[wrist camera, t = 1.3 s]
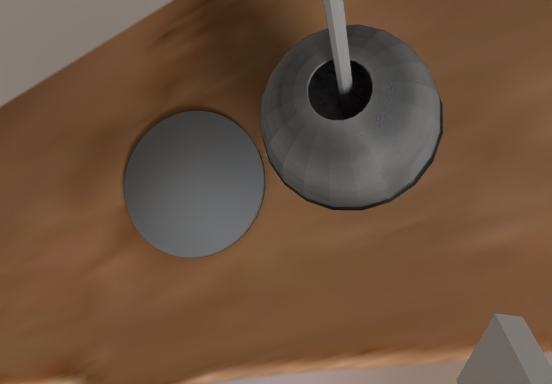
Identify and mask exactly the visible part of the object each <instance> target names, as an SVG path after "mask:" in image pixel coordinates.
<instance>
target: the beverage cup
mask: <svg viewBox="0 0 552 384" xmlns="http://www.w3.org/2000/svg"><path fill="white" fill-rule="evenodd" d="M323 1H324V7H325V13H326V19H327V24H328V28H327V29H325V30H322V31H319V32H317V33H314V34H312V35H309V36H307V37H306V38H304V39H303V40H302V41H300V42H299V43H298V44H296V45H295V46H294V47H292V48H291V49H290V50H289V51H287V52H286V54H285V55H284V56H283V58H282V59H281V60H280V62H279V63H278V64H277V66H276V67H275V68H274V70H273V71H272V73H271V75H270V78H269V81H268V83H267V86H266V89H265V92H264V94H263V97H262V100H261V124H260V127H261V132H262V138H263V141H264V145H265V148H266V152H267V155H268V159H269V162H270V164H271V165H272V167H273V168H274V170H275V171H276V173H277V174H278V176H279V177H280V178H281V180H282V181H283V183H284V184H285V185H286V186H287V187H289V188H290V189H291V190H293V191H294V192H295V193H297V194H298V195H299V196H301V197H302V198H303V199H305V200H306V201H308V202H311V203H314V204H317V205H320V206H323V207H326V208H329V209H332V210H365V209H368V208H372V207H375V206H378V205H382V204H385V203H388V202H391V201H392V200H394V199H395V198H397V197H398V196H400V195H401V194H403V193H404V192H405V191H407V190H408V189H410V188H411V187H413V186H414V185H415V184H416V183H417V182H418V180H419V179H420V178H421V176H422V175H423V174H424V173H425V171H426V170H427V169H428V167H429V166H430V165H431V163H432V162H433V160H434V157H435V154H436V152H437V149H438V146H439V143H440V140H441V137H442V134H443V115H442V102H441V99H440V97H439V94H438V91H437V89H436V86H435V83H434V80H433V78H432V75H431V73H430V70H429V68H428V67H427V65H426V64H425V63H424V62H423V61H422V59H421V58H420V57H419V56H418V55H417V53H416V52H415V51H414V50H413V49H412V47H411V46H409V45H408V44H406V43H404V42H403V41H401V40H400V39H398V38H396V37H395V36H393V35H391V34H390V33H388V32H386V31H385V30H380V29H376V28H372V27H367V26H363V25H346V22H345V13H344V5H343V0H323Z"/></svg>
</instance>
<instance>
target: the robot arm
mask: <svg viewBox="0 0 552 384" xmlns="http://www.w3.org/2000/svg"><path fill="white" fill-rule="evenodd" d="M457 382H458V384H552V368H551V366H550V364H549V362H548V360H547V359H546V357H545V355H544V353H543V352H542V350H541V348H540V346H539V345H538V343H537V341H536V339H535V338H534V336H533V334H532V332H531V331H530V329H529V327H528V326H527V324H526V322H525V320H524V319H523V317H518V316H510V315H503V314H495V315H494V316H493V318H492V320H491V321H490V323H489V325H488V327H487V328H486V330H485V332H484V334H483V335H482V337H481V339H480V340H479V342H478V344H477V346H476V347H475V349H474V351H473V352H472V354H471V356H470V358H469V359H468V361H467V363H466V365H465V366H464V368H463V370H462V371H461V373H460V375H459V377H458V378H457Z"/></svg>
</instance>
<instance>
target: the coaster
mask: <svg viewBox="0 0 552 384" xmlns="http://www.w3.org/2000/svg"><path fill="white" fill-rule="evenodd" d="M264 191H265V171H264V166H263V161H262V158H261V155H260V153H259V150H258V149H257V147H256V145H255V143H254V142H253V140H252V139H251V138H250V136H249V135H248V134H247V133H246V132H245V131H244V130H243V129H242V128H241V127H240V126H238V125H237V124H236V123H235V122H233V121H232V120H230V119H228V118H226V117H224V116H222V115H219V114H217V113H212V112H208V111H188V112H182V113H179V114H176V115H173V116H170V117H168V118H166V119H164V120H163V121H161V122H159V123H158V124H156V125H155V126H154V127H153V128H151V129H150V130H149V131H148V132H147V133H146V134H145V135H144V136H143V138H142V139H141V140H140V142H139V143H138V144H137V146H136V148H135V149H134V151H133V153H132V155H131V158H130V160H129V163H128V166H127V169H126V175H125V182H124V194H125V202H126V207H127V210H128V213H129V216H130V218H131V220H132V223H133V224H134V226H135V228H136V229H137V231H138V232H139V233H140V234H141V236H142V237H143V238H144V239H145V240H146V241H147V242H149V243H150V244H151V245H152V246H154V247H155V248H157V249H159V250H161V251H163V252H165V253H168V254H171V255H174V256H179V257H204V256H208V255H212V254H215V253H218V252H220V251H223V250H224V249H226V248H228V247H230V246H231V245H233V244H234V243H235V242H237V241H238V240H239V239H240V238H241V237H242V236H243V235H244V234H245V233H246V232H247V231H248V229H249V228H250V227H251V225H252V224H253V222H254V220H255V219H256V217H257V215H258V213H259V210H260V208H261V205H262V201H263V198H264Z"/></svg>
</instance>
